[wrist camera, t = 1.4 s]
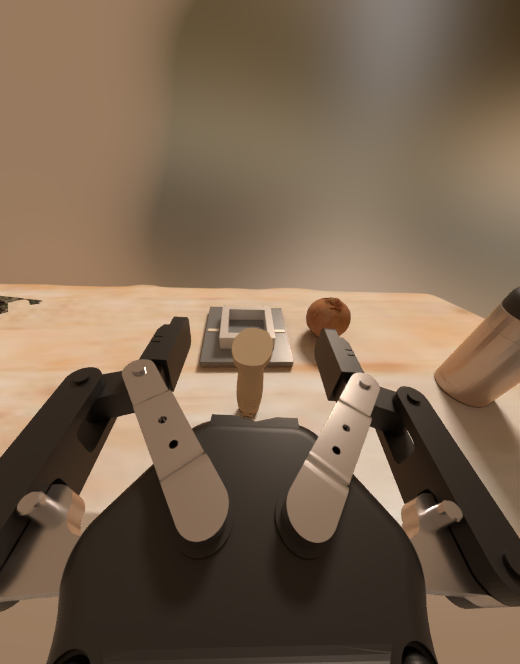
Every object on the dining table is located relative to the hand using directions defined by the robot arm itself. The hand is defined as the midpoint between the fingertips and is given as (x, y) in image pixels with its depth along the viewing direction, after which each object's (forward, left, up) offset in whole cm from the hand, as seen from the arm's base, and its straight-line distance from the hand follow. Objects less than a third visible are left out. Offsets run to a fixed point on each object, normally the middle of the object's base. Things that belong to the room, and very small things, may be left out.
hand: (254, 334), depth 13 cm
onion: (-19, -28, -25) cm, 42 cm away
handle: (-1, -9, -25) cm, 26 cm away
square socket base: (-1, -27, -25) cm, 36 cm away
